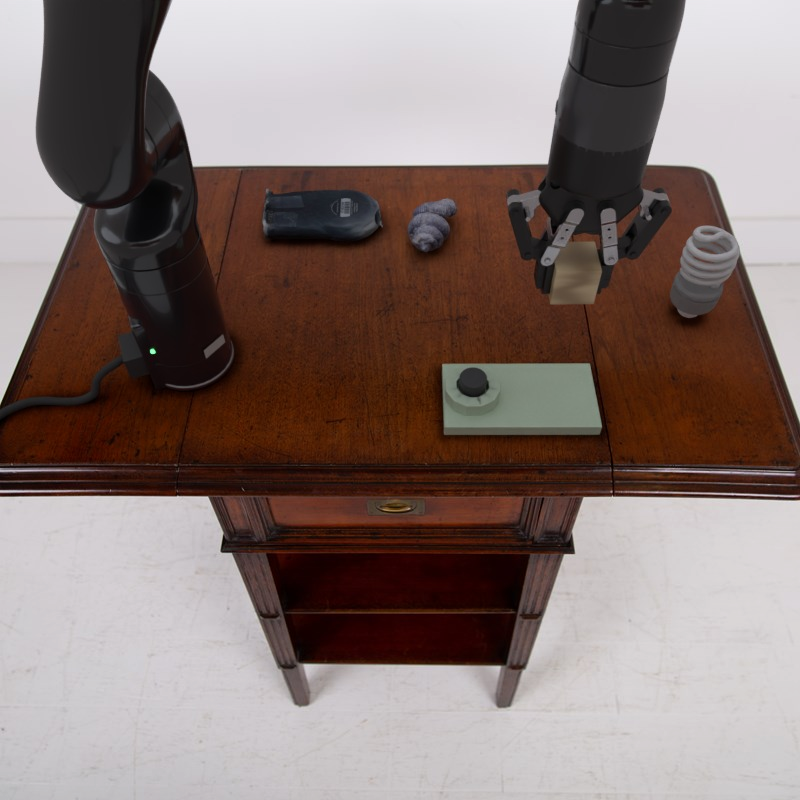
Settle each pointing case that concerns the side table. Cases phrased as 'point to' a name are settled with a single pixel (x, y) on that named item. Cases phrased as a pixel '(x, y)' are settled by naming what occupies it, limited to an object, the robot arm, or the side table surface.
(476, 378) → the button
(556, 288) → the block
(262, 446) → the side table surface
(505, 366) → the pale green flat block
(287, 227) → the electronic device
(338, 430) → the side table surface
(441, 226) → the seashell
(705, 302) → the light bulb
